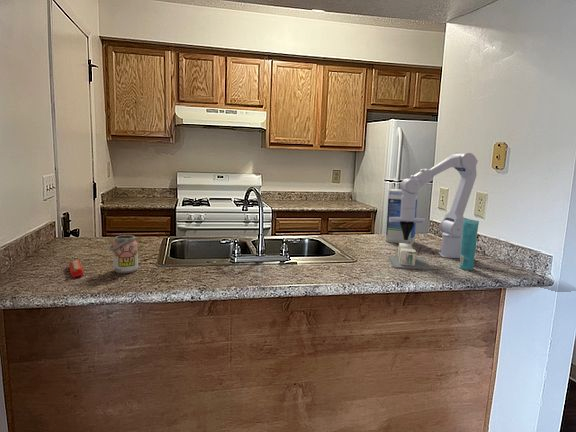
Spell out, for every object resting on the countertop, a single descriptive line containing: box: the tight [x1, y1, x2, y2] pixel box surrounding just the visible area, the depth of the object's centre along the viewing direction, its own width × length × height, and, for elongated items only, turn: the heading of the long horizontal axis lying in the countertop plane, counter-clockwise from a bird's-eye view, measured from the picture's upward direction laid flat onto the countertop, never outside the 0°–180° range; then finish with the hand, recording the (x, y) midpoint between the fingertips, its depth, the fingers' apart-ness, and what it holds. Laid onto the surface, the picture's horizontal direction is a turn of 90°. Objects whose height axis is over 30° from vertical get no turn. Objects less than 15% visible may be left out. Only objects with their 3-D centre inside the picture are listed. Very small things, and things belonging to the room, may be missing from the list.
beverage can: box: [108, 234, 139, 274], centre depth 140 cm, size 9×8×12 cm
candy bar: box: [68, 259, 84, 278], centre depth 138 cm, size 16×4×3 cm, turn 31°
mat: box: [388, 255, 433, 271], centre depth 161 cm, size 14×16×1 cm
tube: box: [459, 217, 480, 271], centre depth 154 cm, size 7×5×19 cm, turn 26°
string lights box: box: [385, 188, 419, 245], centre depth 198 cm, size 13×8×26 cm, turn 66°
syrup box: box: [397, 243, 417, 266], centre depth 162 cm, size 6×6×14 cm
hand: (405, 239), depth 170 cm, fingers closed
